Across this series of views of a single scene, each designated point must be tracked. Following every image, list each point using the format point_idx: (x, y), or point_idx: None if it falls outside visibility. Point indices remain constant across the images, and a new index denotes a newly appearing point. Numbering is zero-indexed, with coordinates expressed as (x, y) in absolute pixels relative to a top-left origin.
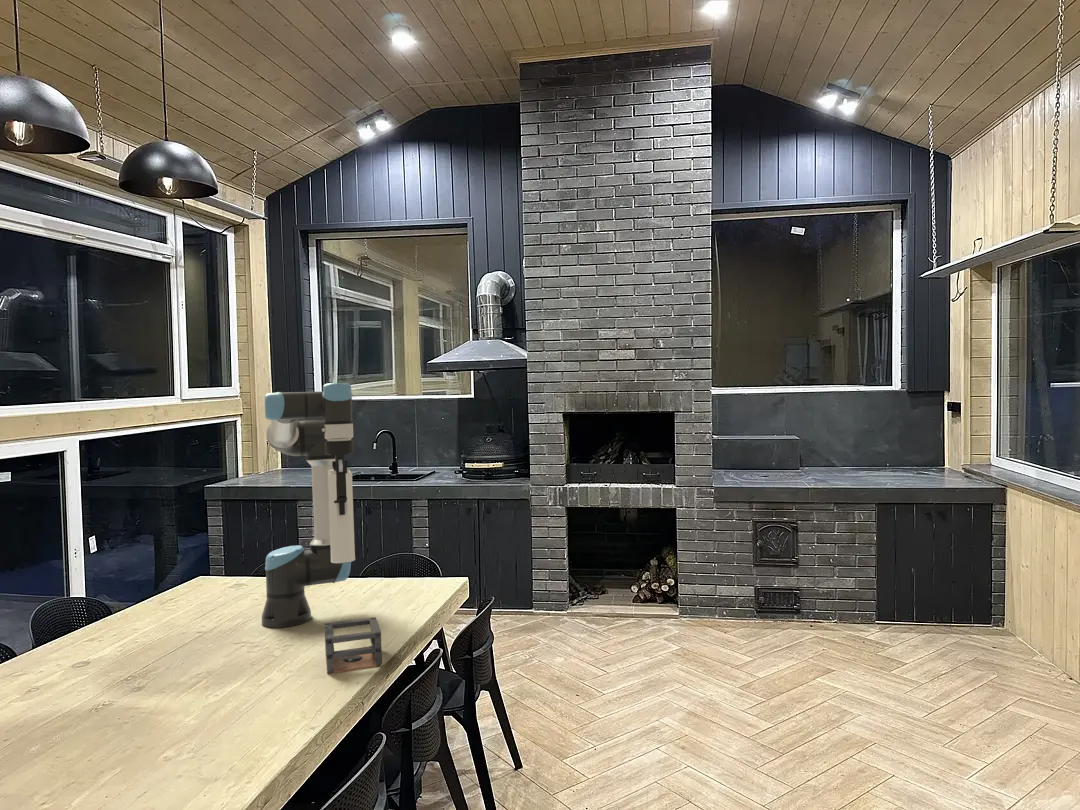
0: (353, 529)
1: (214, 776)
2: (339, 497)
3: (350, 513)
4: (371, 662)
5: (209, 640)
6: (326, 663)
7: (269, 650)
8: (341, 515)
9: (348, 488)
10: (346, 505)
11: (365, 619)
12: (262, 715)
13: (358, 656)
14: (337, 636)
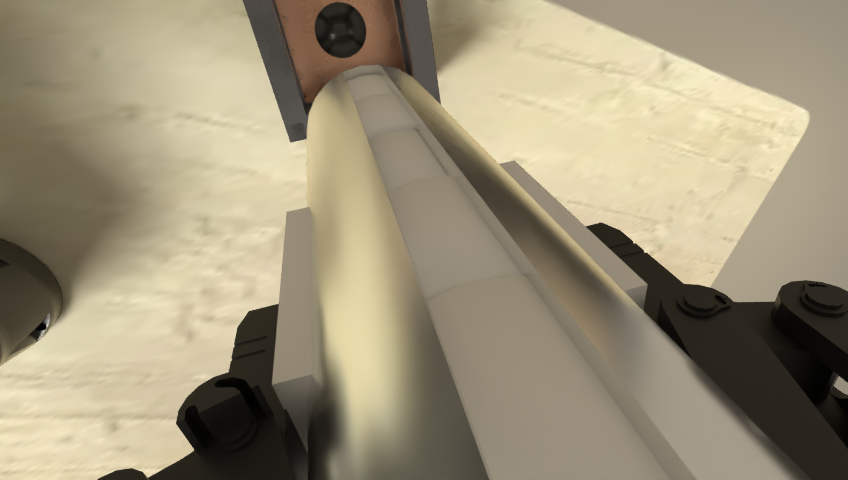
0: (425, 114)
1: (734, 174)
2: (833, 386)
3: (517, 186)
4: None
5: (171, 389)
6: None
7: (243, 256)
8: None
9: (778, 452)
10: (621, 264)
11: (257, 1)
12: (579, 168)
13: (324, 16)
14: (421, 78)
